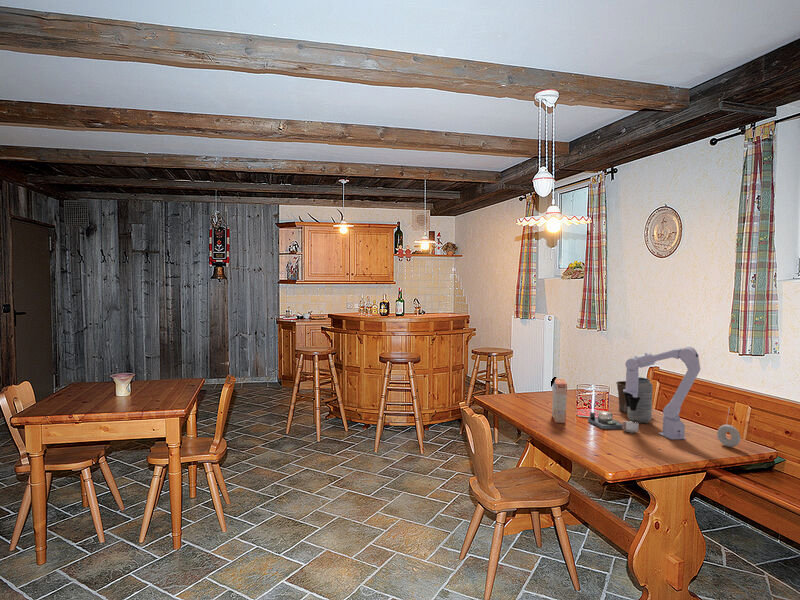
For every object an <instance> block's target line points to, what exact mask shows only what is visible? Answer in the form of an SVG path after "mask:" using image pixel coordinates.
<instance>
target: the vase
mask: <svg viewBox="0 0 800 600" xmlns="http://www.w3.org/2000/svg"><path fill="white" fill-rule="evenodd" d="M653 388H654V386H653V383H651V380H650V378H647V377H639V378H638V397H640V400H639V402H638V404H637V407H636V410H635V411H633V410H631V409H630V407H628V413H626V415H627V418H628V419H629V421H630V420H631V421H633V422H636V423H646V424H649V422H650V421H651V420H652V416H653V415H652V414H653V413H652V411H653V390H654V389H653Z"/></svg>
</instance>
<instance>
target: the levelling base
mask: <svg viewBox="0 0 800 600" xmlns="http://www.w3.org/2000/svg"><path fill="white" fill-rule="evenodd" d="M613 416H614V414H613V413H612V412H610V411H598V412H597V417H596V413H595V412H590V413H589V417H588V418H587V422H588V423H590V424H591V423H592V424H591V425H593V424H594V425H593V426H595V425H596V426H595V427H597V426H598V427H597V428H599V429H600V428H601V429H600V430H602V429H607V430H624V429H623V422H622V423H621V422H620V421H618V420H615V419H613Z"/></svg>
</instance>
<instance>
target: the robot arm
mask: <svg viewBox="0 0 800 600" xmlns="http://www.w3.org/2000/svg"><path fill="white" fill-rule="evenodd" d="M672 358H674V359H676V360H679V359H680V360H681V361H682V362H683V364H684V365H685V366H686V368H687V371H686V372H685V374H684V376H683V378H682V379H681V382H680V383H679V385H678V387H677V389H676V391H675V393H674V395H673V396H672V398H671V400H670V401H669V403H667V405H665V406H664V408H663V410H662V413H663V416H662V432H658V434H659V435H661V436H663V437H665V438H667V439H670V440H686V439H687V438H686V437H685V432H686V431H685V430H686V429H685V428H686V426H685V424H684V422H683V421H682V420H681V416H680V415H679V414H680V413H681V411H682V409H681V407H682V404H683V402H684V401H685V400H686V399H685V398H686V397H687V395H688V393H689V391H690V389H691V388H692V387H693V386H692V385H694V382H695V380H696V379H697V377H698V376H699V373H700V371H701V364H700V357H699V353H698V352H697V350H696V349H695V348H694V347H692V346H686V347H680V348H673V349H670V350H667V351H662V352H660V353H656V354H653V353H648V352H645V353H644V354H643V355H642V354H641V355H635V356H634V357H631V358H628V359H627V360H626V361H625V364H624V365H625V367H626V372H625V381H626V389H625V390H623V391H624V392H623V393H624V395H625V398H626V404H627V407H630V409H631V410H633V411H635V410H636V407H637V404H638V402H639V400H640V397H638V378H639V376H640V375H639V369H641V368H645V367H649V366H653V365H655V363H656V362H659V361H662V360H666V359H667V360H668V359H672Z"/></svg>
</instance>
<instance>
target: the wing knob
mask: <svg viewBox="0 0 800 600" xmlns="http://www.w3.org/2000/svg"><path fill="white" fill-rule="evenodd" d="M622 424H623V429H622V430H624V431H625V432H626V433H631V434H636V433H637V432H639V429H640V427H639V425H640V424H639V423H635V422H633V421H630V420H629V421H627V420H622Z"/></svg>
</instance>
